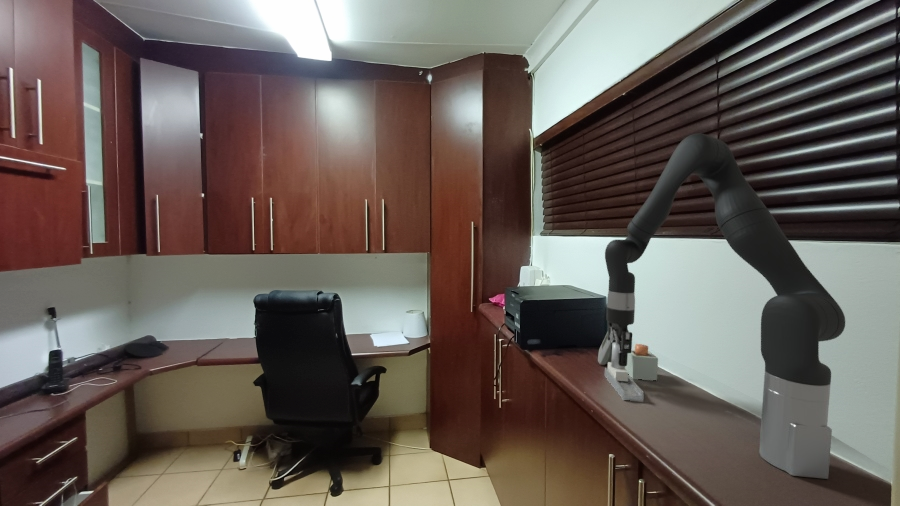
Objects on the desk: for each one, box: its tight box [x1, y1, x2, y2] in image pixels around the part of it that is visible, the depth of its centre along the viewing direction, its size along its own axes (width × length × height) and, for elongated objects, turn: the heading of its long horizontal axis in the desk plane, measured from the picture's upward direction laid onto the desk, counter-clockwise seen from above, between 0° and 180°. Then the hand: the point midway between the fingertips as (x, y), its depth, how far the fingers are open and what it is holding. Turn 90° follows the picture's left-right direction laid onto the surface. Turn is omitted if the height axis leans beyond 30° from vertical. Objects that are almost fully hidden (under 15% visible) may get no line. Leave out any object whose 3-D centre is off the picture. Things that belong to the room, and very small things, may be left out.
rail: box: [604, 367, 645, 403], centre depth 105 cm, size 17×5×3 cm, turn 173°
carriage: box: [607, 342, 629, 382], centre depth 109 cm, size 8×4×10 cm, turn 173°
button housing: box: [624, 349, 659, 382], centre depth 115 cm, size 7×7×7 cm
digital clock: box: [597, 331, 612, 366], centre depth 129 cm, size 16×9×11 cm, turn 145°
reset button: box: [634, 343, 649, 356], centre depth 114 cm, size 4×4×3 cm
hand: (618, 360), depth 109 cm, fingers open, 7 cm apart
